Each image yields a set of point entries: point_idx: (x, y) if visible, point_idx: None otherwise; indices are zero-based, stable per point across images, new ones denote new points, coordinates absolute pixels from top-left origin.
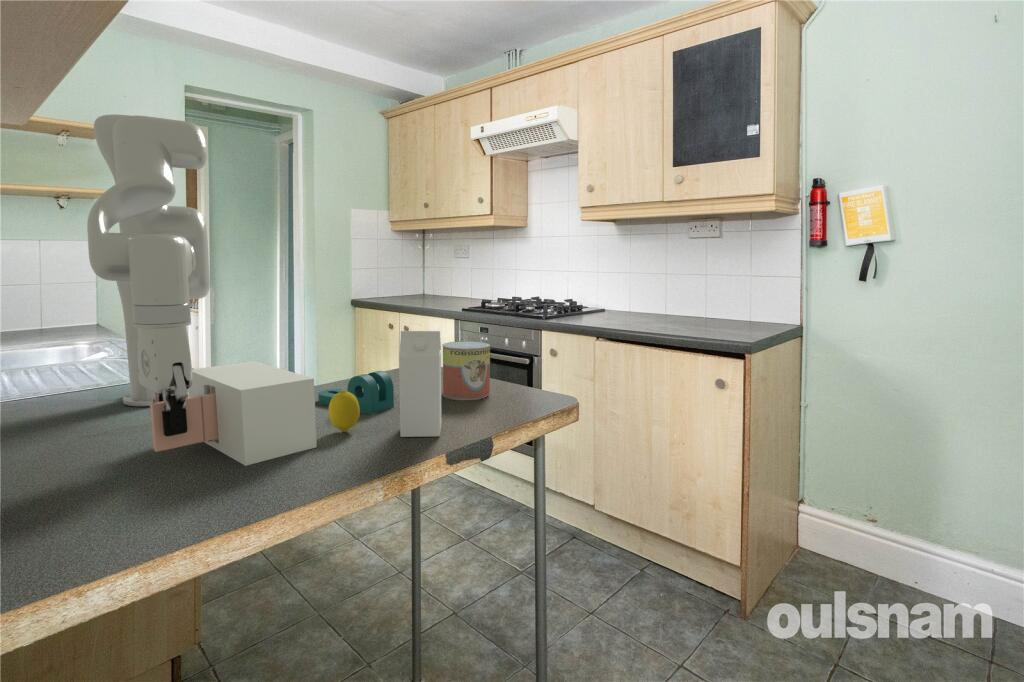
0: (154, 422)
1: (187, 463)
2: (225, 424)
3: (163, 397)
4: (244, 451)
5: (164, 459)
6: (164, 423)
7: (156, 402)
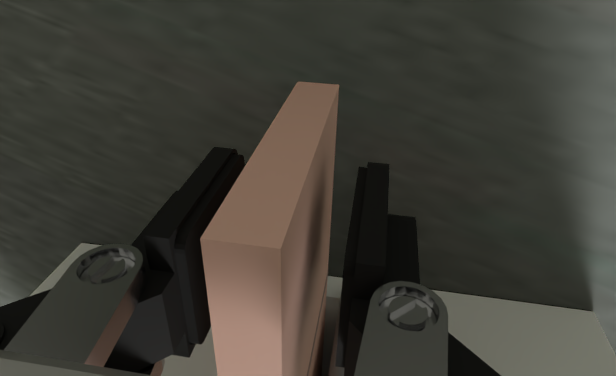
0: (255, 157)
1: (232, 146)
2: (168, 359)
3: (77, 342)
4: (48, 276)
5: (356, 110)
6: (184, 186)
7: (270, 292)
